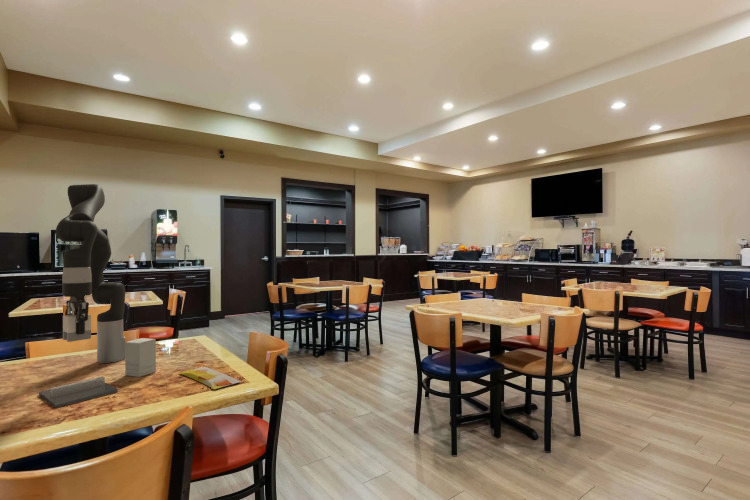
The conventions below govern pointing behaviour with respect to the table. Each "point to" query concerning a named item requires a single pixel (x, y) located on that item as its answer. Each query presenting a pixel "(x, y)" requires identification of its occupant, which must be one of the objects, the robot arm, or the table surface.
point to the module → (70, 329)
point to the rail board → (77, 392)
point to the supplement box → (140, 357)
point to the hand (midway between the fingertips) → (77, 332)
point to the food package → (210, 377)
